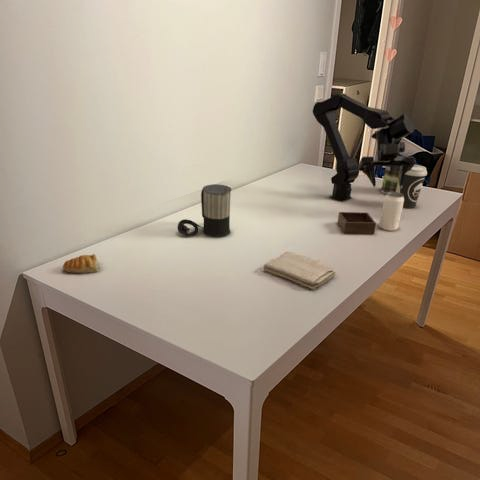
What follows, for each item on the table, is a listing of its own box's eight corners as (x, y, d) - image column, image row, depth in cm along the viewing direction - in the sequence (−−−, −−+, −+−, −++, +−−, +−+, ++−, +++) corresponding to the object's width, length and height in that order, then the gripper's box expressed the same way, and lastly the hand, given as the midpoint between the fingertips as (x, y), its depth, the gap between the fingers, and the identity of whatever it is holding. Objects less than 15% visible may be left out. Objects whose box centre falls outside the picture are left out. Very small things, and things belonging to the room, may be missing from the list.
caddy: (337, 222, 169) (338, 212, 167) (365, 223, 170) (367, 212, 168) (343, 233, 160) (345, 222, 158) (374, 234, 161) (376, 223, 159)
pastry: (63, 276, 128) (61, 263, 126) (63, 265, 133) (61, 253, 131) (99, 272, 131) (98, 259, 129) (98, 262, 136) (96, 249, 134)
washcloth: (315, 291, 125) (316, 281, 124) (261, 271, 135) (261, 261, 133) (337, 276, 133) (338, 266, 132) (284, 258, 142) (285, 248, 141)
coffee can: (382, 195, 198) (389, 160, 191) (379, 187, 207) (386, 154, 199) (407, 196, 197) (415, 162, 190) (403, 189, 206) (411, 156, 198)
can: (387, 232, 163) (394, 198, 157) (374, 225, 168) (381, 192, 161) (401, 229, 166) (409, 195, 159) (388, 223, 170) (395, 190, 164)
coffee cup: (416, 202, 192) (425, 164, 183) (421, 210, 183) (431, 171, 175) (392, 201, 192) (400, 163, 184) (396, 208, 184) (404, 169, 176)
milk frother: (236, 232, 158) (237, 188, 150) (201, 245, 148) (201, 199, 140) (206, 221, 166) (206, 179, 158) (172, 233, 156) (170, 188, 148)
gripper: (365, 132, 161) (367, 175, 159) (419, 132, 162) (422, 175, 159) (357, 149, 172) (359, 190, 170) (408, 149, 173) (411, 190, 170)
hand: (387, 186), depth 167 cm, fingers open, 9 cm apart
